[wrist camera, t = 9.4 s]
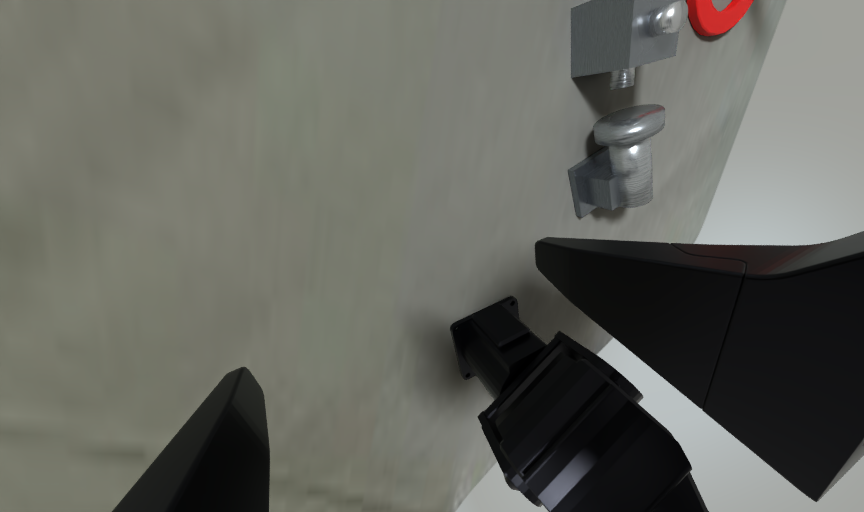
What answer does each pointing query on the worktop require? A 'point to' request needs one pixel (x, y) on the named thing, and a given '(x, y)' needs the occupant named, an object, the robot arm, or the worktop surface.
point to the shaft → (618, 161)
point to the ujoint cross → (623, 36)
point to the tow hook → (715, 16)
